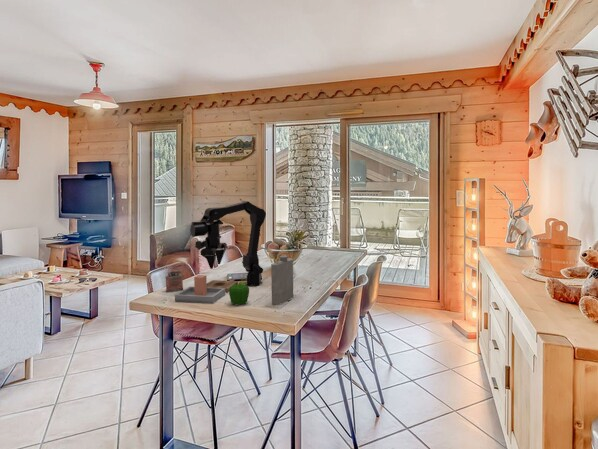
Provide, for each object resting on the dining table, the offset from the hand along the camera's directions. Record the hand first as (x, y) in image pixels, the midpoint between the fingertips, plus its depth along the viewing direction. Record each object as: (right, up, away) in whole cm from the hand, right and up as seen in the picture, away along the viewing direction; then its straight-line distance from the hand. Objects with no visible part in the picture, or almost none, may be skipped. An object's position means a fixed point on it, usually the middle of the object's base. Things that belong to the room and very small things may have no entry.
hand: (215, 266), depth 174 cm
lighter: (-21, -13, +3) cm, 24 cm away
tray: (-4, -13, -9) cm, 17 cm away
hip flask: (+33, -14, -13) cm, 38 cm away
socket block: (+1, -12, +7) cm, 14 cm away
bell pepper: (+14, -14, -17) cm, 27 cm away
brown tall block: (-5, -12, -9) cm, 16 cm away
